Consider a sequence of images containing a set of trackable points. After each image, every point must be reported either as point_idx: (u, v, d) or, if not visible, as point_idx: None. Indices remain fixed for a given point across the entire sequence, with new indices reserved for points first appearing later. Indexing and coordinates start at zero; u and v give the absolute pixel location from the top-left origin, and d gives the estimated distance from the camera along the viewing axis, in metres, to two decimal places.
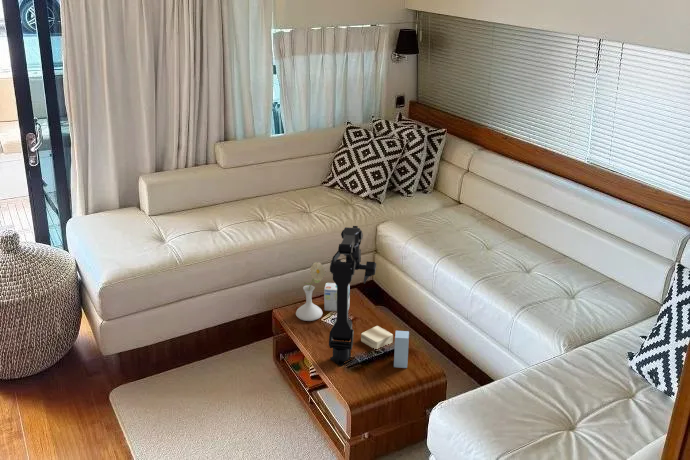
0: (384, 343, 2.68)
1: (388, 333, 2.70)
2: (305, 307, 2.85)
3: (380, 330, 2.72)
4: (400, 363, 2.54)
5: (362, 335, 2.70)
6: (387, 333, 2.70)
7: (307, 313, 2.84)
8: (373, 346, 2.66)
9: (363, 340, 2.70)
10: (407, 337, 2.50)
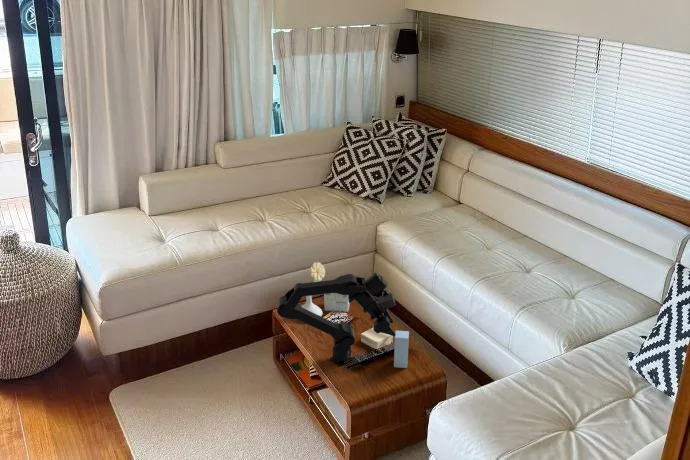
0: (384, 343, 2.68)
1: None
2: (305, 307, 2.85)
3: None
4: (400, 363, 2.54)
5: (362, 335, 2.70)
6: None
7: None
8: (373, 346, 2.66)
9: (363, 340, 2.70)
10: (407, 337, 2.50)
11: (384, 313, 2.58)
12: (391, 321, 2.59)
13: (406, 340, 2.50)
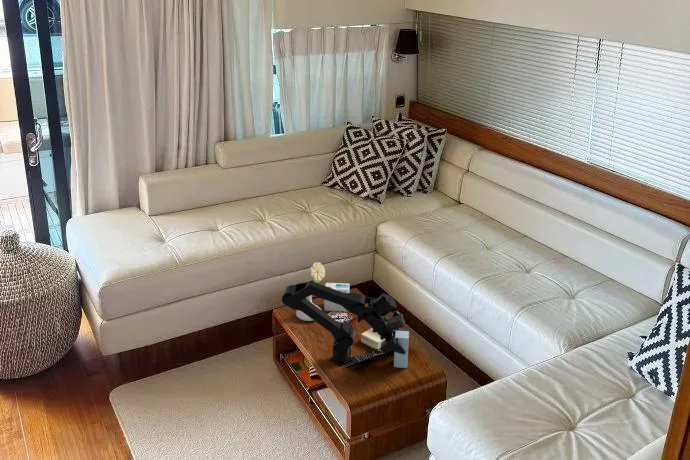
0: None
1: None
2: None
3: None
4: (400, 363, 2.54)
5: (362, 335, 2.70)
6: None
7: None
8: (374, 346, 2.66)
9: (363, 340, 2.70)
10: (407, 337, 2.50)
11: None
12: None
13: (406, 340, 2.50)
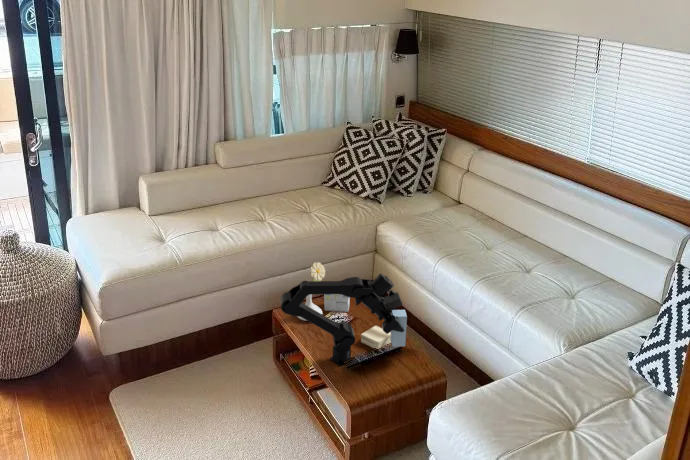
0: (385, 342, 2.68)
1: None
2: None
3: (379, 330, 2.73)
4: (398, 341, 2.56)
5: (362, 336, 2.69)
6: None
7: None
8: (374, 346, 2.66)
9: (363, 341, 2.70)
10: (405, 315, 2.53)
11: None
12: None
13: (405, 318, 2.52)
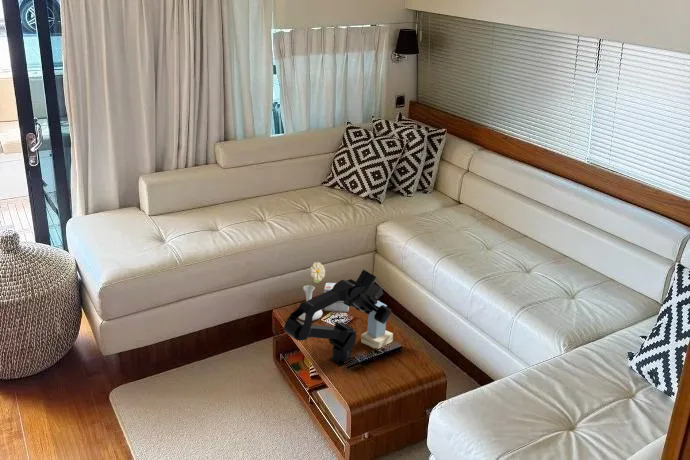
0: (385, 342, 2.68)
1: (388, 332, 2.71)
2: None
3: None
4: (380, 331, 2.68)
5: (362, 336, 2.69)
6: (387, 333, 2.70)
7: None
8: (375, 346, 2.66)
9: (363, 341, 2.70)
10: None
11: None
12: None
13: None
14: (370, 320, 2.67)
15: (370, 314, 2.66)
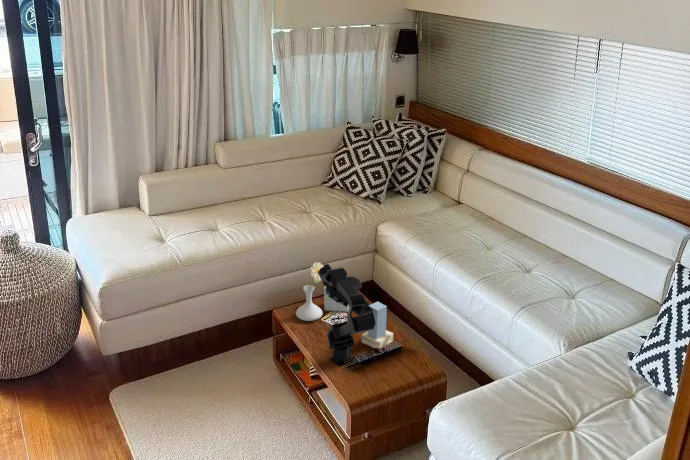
0: (386, 342, 2.68)
1: (388, 332, 2.71)
2: (305, 307, 2.85)
3: None
4: (380, 332, 2.67)
5: (363, 336, 2.69)
6: (387, 333, 2.71)
7: (307, 313, 2.84)
8: (375, 346, 2.66)
9: (364, 341, 2.70)
10: (384, 305, 2.65)
11: None
12: None
13: (385, 308, 2.64)
14: None
15: None
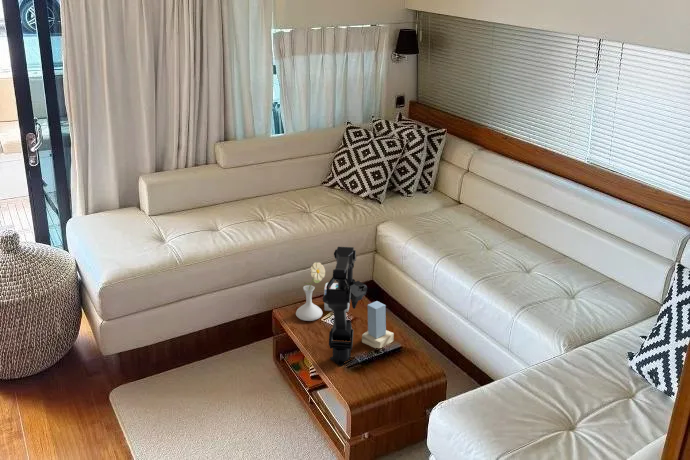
0: (386, 342, 2.68)
1: (388, 332, 2.71)
2: (305, 307, 2.85)
3: None
4: (380, 332, 2.67)
5: (363, 336, 2.69)
6: (388, 333, 2.71)
7: (307, 313, 2.84)
8: (376, 346, 2.66)
9: (364, 341, 2.70)
10: (383, 304, 2.65)
11: None
12: (353, 307, 2.69)
13: (384, 307, 2.64)
14: (369, 320, 2.67)
15: (369, 314, 2.66)
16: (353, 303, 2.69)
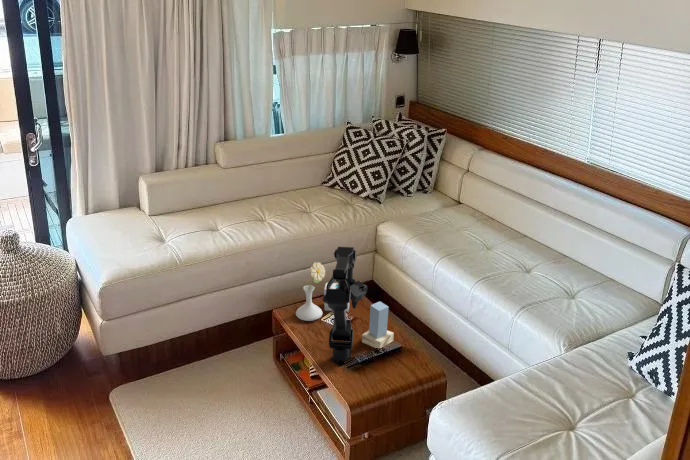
0: (386, 342, 2.68)
1: (388, 332, 2.71)
2: (305, 307, 2.85)
3: None
4: (381, 332, 2.67)
5: (363, 336, 2.69)
6: (388, 332, 2.71)
7: (307, 313, 2.84)
8: (376, 346, 2.67)
9: (364, 341, 2.70)
10: (386, 306, 2.64)
11: None
12: (353, 307, 2.69)
13: (387, 309, 2.64)
14: (371, 321, 2.67)
15: (372, 315, 2.65)
16: (353, 303, 2.69)
